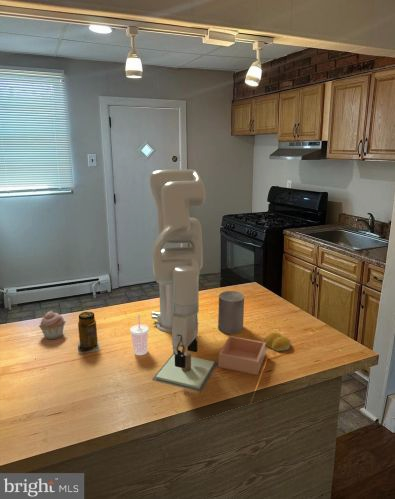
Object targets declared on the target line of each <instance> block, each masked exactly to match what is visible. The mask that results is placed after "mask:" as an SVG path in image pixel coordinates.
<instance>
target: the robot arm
mask: <svg viewBox="0 0 395 499" xmlns="http://www.w3.org/2000/svg"><path fill="white" fill-rule="evenodd" d="M149 184H150V189H151V190H150V191H151V193H152V196H153V197H154V201H155V203H156V206H157V208H156V209H157V220H158V236H157V238H156V239H155V241H154V244H153V246H152V253H151V255H152V256H151V257H152V269H153V270H152V271H153V276H154V280H155V282H156V283H157V284H158V286H159V288H158V289H159V290H158V291H159V292H158V293H159V312H158V311H152V312H151V319H153V320H157V321H156V323H155V325H156V328H157V329H158V330H159V331H160V332H161V331H162V332H165V333H172V334H171V345H172V354H173V353H174V355H175V366H176V367H180V368H185V355H184V353H185V352H186V348H187V352H191V353H197V352H198V334H199V333H198V332H199V329H198V328H199V319H198V314H199V312H200V311H199V310H200V309H199V306H200V305H199V302H200V301H199V276H200V273H201V269H202V268H203V266H204V265H203V264H204V250H203V231H202V230H203V229H202V224H201V223H200V220H199V219H198V218H195V217H191V216H190V207H202V206H203V205H205V202H206V198H207V194H206V187H205V184H204V181H203V179H202V178H201V176H200V173H199V171H197V170H195V169H192V168H191V169H190V168H189V169H186V168H185V169H176V168H175V169H174V168H173V169H159V170H158V169H157V170H154V171H152V173H150V176H149ZM165 244H168V245H169V244H170V245H173V244H174V245H176V244H189V245H190V246H175V247H174V246H173V247H172V246H171V247H164V245H165ZM163 247H164V248H163ZM180 348H181V350H180Z"/></svg>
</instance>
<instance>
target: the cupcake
mask: <svg viewBox="0 0 395 499" xmlns="http://www.w3.org/2000/svg"><path fill="white" fill-rule="evenodd" d="M66 323H67V321H66V320H64V317H63V316H62V315H60V314H59V313H58V312H54V311H53V310H50V311H47V312H46V314H45V315H44V316H43V317H42V318H41V322H40V323H39V325H38V327H39V328H40V330H41V331H42V332H41V333H42V334H43V337H44V338H45V339H46V340H55V339H59V338H60V337H62V336H63V334H64V327H65V325H66Z"/></svg>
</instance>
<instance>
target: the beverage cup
mask: <svg viewBox="0 0 395 499" xmlns="http://www.w3.org/2000/svg"><path fill="white" fill-rule="evenodd" d="M137 321H138V322H137V323H138V324H135V325H133V326H131V327H130V329H129V332H130V334H131V335H130V336H131V342H132V343H131V344H132V349H133V350H132V351H133V354H134V355H136V356H143V355H146V354H147V353H148V335H149V334H148V333H149V326H148V325H146V324H141V318H140V314H138V315H137Z"/></svg>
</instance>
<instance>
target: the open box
mask: <svg viewBox="0 0 395 499" xmlns="http://www.w3.org/2000/svg"><path fill="white" fill-rule="evenodd" d="M266 349H267V345H266V342H265V341H260V340H255V339H250V338H244V337H239V336H233V335H229V336H228V338H227V340H226V341H225V343H224V344H223V346H222V348H221V349H220V351H219V353H218V362H217V363H218V364H217V367H218V368H221V369H226V370H230V371H234V372H239V373H245V374H249V375H254V376H256V377H257V376H258V375H259V372H260V370H261V368H262V365H263V361H264V359H265V357H266V354H267V353H266Z"/></svg>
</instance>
